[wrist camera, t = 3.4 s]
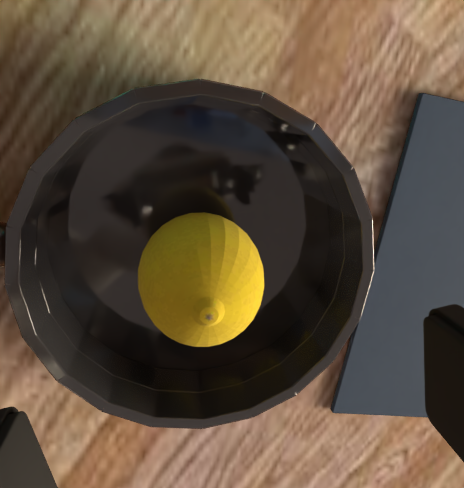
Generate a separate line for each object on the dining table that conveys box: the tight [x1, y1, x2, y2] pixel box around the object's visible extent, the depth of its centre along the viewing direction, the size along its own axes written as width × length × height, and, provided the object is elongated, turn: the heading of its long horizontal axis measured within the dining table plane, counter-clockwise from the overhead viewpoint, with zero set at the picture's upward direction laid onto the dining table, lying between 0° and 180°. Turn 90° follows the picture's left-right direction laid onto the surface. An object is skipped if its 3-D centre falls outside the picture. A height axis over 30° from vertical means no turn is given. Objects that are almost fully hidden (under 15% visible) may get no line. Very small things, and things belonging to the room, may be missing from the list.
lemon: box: [138, 212, 264, 347], centre depth 18 cm, size 6×6×8 cm
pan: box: [5, 79, 374, 429], centre depth 20 cm, size 16×16×4 cm
